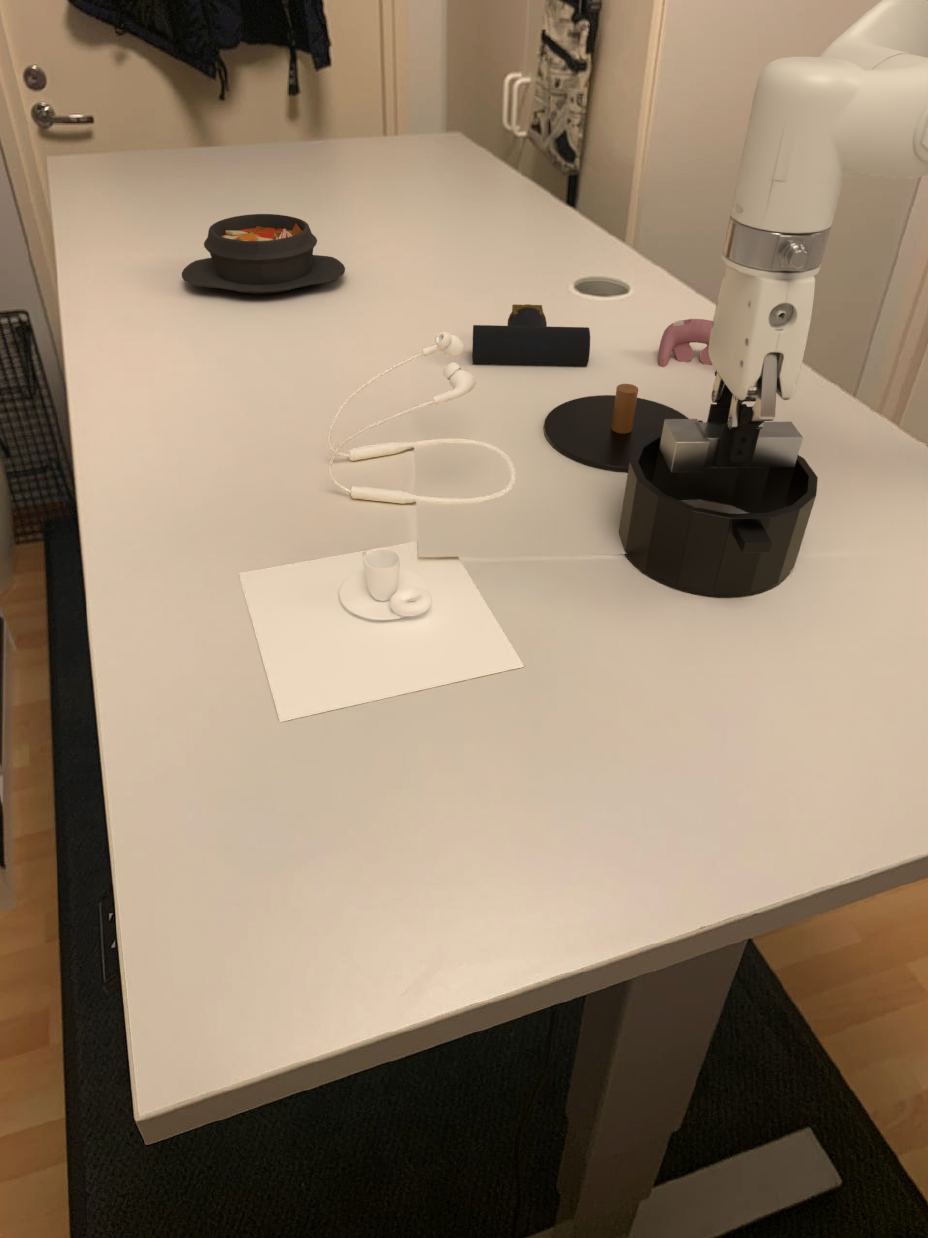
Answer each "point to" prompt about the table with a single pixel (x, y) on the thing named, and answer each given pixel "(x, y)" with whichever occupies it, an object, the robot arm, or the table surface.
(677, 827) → the table surface
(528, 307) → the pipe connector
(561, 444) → the lid
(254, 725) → the table surface
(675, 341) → the video game controller
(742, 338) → the robot arm
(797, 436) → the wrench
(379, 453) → the earphone
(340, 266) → the casserole
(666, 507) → the pot
